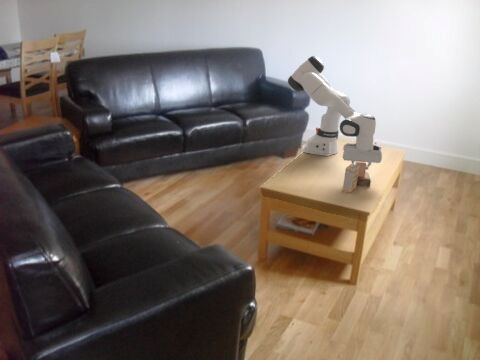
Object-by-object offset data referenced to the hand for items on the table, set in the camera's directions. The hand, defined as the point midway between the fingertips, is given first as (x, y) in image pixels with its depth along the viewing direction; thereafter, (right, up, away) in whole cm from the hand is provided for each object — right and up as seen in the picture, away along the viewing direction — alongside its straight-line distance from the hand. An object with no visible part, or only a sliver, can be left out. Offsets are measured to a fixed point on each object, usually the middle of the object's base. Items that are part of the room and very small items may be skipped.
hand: (360, 168), depth 263 cm
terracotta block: (0, -3, +1) cm, 4 cm away
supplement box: (-8, -11, -7) cm, 16 cm away
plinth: (0, -7, +3) cm, 8 cm away
